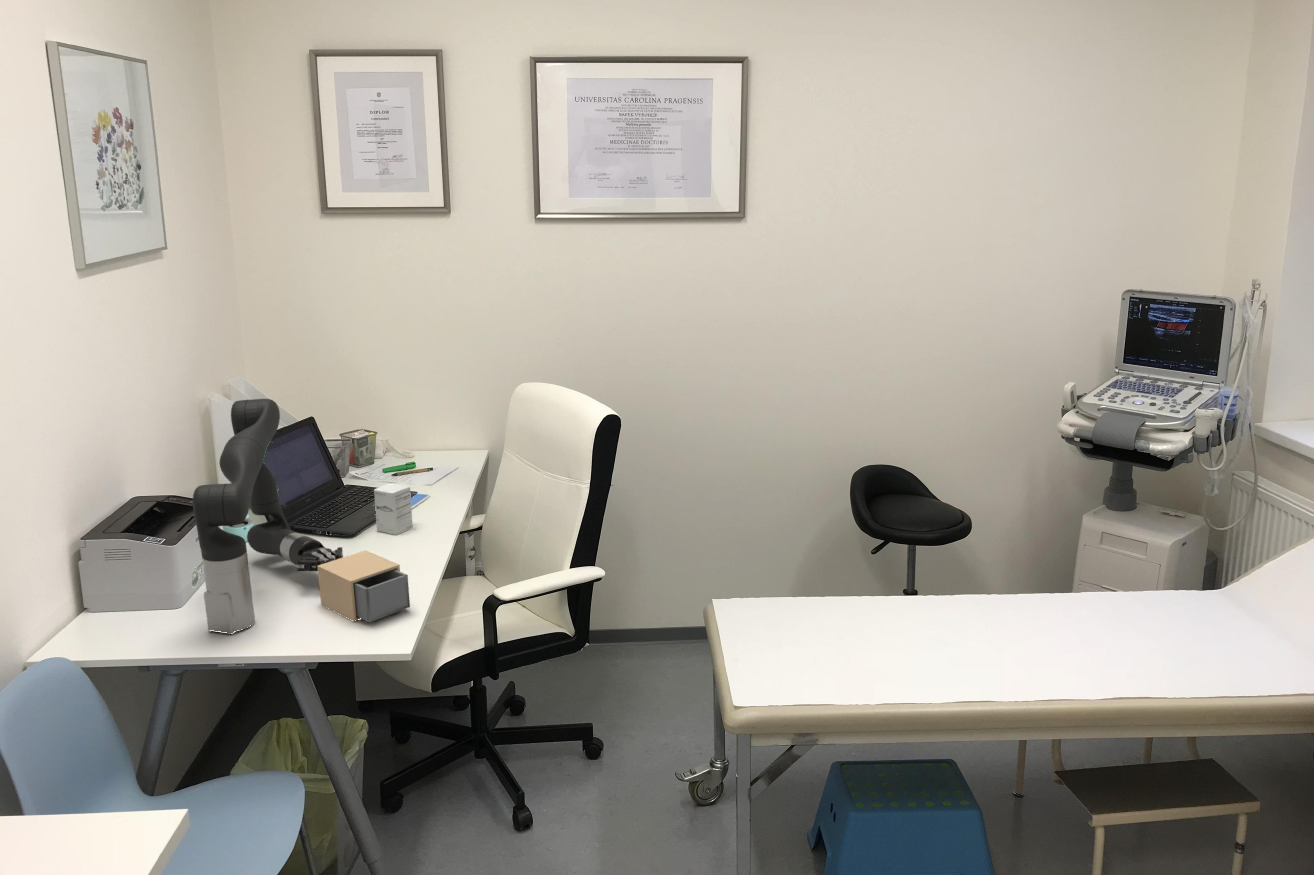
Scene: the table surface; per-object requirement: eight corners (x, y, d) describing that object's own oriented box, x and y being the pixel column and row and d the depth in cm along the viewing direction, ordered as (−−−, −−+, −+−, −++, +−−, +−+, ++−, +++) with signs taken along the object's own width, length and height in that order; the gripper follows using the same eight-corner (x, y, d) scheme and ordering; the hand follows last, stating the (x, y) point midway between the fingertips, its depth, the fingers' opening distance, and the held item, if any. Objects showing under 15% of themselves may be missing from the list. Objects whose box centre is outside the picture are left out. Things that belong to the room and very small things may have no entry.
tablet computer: (394, 495, 321) (394, 491, 321) (431, 497, 318) (431, 493, 318) (363, 515, 303) (363, 510, 302) (402, 518, 300) (402, 514, 300)
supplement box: (376, 531, 288) (372, 489, 284) (394, 523, 294) (390, 482, 291) (396, 535, 284) (392, 493, 281) (413, 527, 291) (410, 485, 287)
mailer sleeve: (321, 605, 240) (317, 565, 237) (369, 588, 249) (365, 550, 247) (354, 622, 231) (350, 581, 228) (402, 604, 240) (399, 564, 238)
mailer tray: (321, 598, 241) (318, 566, 239) (361, 584, 249) (359, 553, 247) (368, 622, 228) (366, 589, 226) (410, 606, 236) (407, 574, 234)
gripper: (275, 543, 249) (313, 561, 238) (324, 529, 258) (362, 545, 247) (278, 572, 251) (316, 590, 240) (326, 556, 260) (364, 574, 249)
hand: (339, 567), depth 244 cm, fingers closed
